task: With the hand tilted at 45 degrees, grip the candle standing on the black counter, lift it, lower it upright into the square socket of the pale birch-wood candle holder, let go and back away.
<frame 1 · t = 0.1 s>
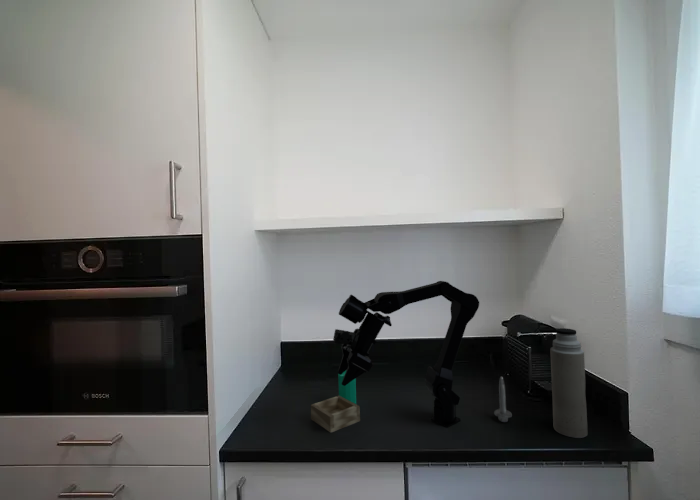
hand: (340, 379, 100), 15 cm above the worktop, tool tilted 35°, fingers open, 9 cm apart
thermos bottle: (570, 431, 96), on the worktop
screw: (503, 420, 103), on the worktop
candle holder: (335, 420, 107), on the worktop
candle: (347, 404, 118), on the worktop
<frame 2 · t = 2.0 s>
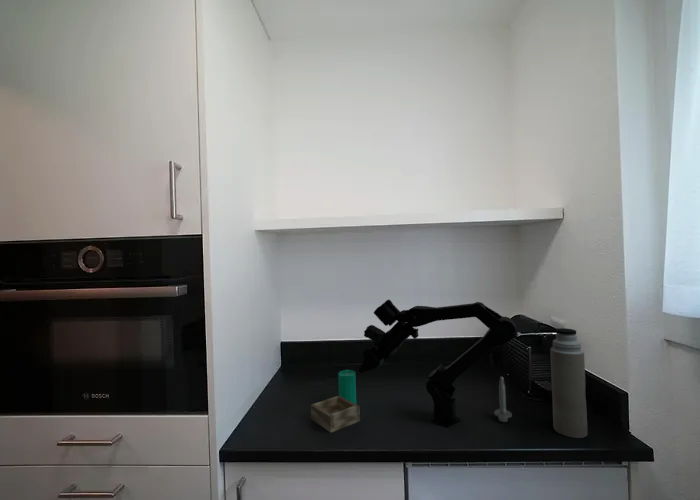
hand: (365, 367, 116), 13 cm above the worktop, tool tilted 45°, fingers open, 9 cm apart
nothing on the worktop moved.
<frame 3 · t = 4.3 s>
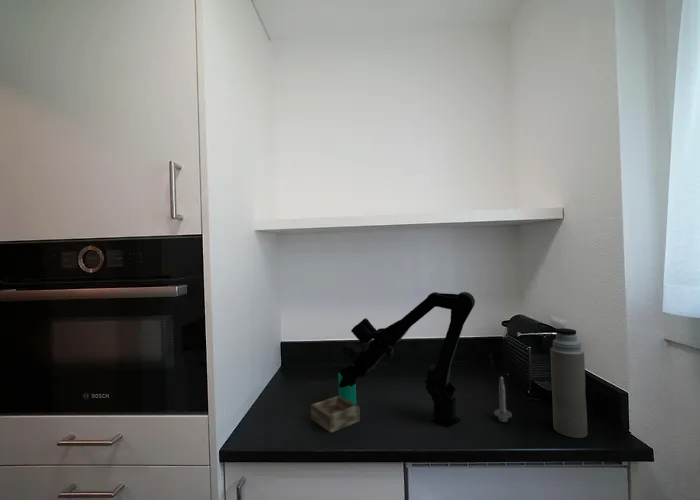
hand: (343, 383, 119), 7 cm above the worktop, tool tilted 45°, fingers closed on candle, 5 cm apart
candle: (347, 404, 118), on the worktop, touching gripper
everything else where it was.
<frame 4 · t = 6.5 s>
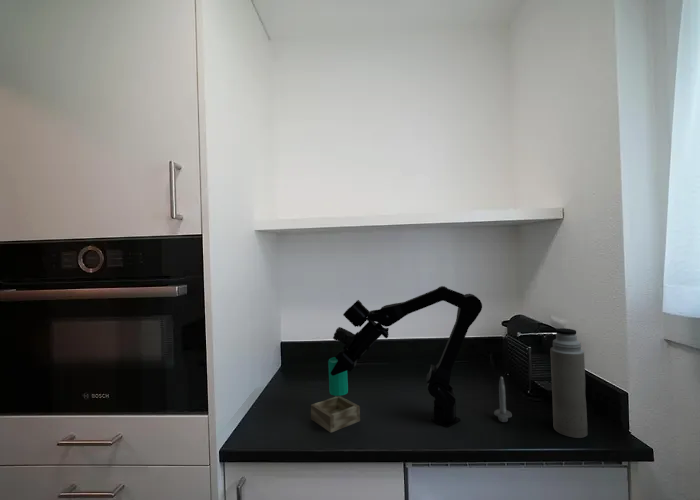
hand: (333, 371, 112), 13 cm above the worktop, tool tilted 45°, fingers closed on candle, 5 cm apart
candle: (338, 392, 111), point 6 cm above the worktop, touching gripper
everything else where it was.
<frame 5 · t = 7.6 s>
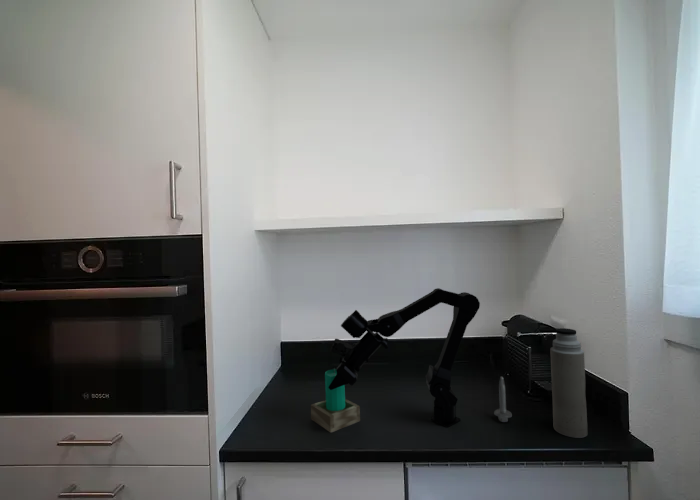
hand: (330, 385, 107), 11 cm above the worktop, tool tilted 45°, fingers closed on candle, 5 cm apart
candle: (335, 407, 107), point 4 cm above the worktop, touching gripper
everything else where it was.
when the fingers open (9 cm above the worktop, at t = 8.4 s): candle drops 1 cm, resting on candle holder.
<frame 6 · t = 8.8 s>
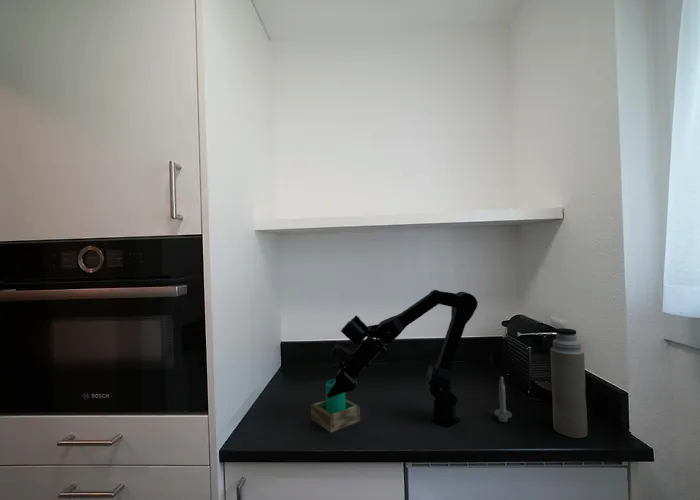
hand: (330, 390, 107), 9 cm above the worktop, tool tilted 45°, fingers open, 9 cm apart
candle: (336, 417, 107), point 1 cm above the worktop, touching candle holder
everything else where it was.
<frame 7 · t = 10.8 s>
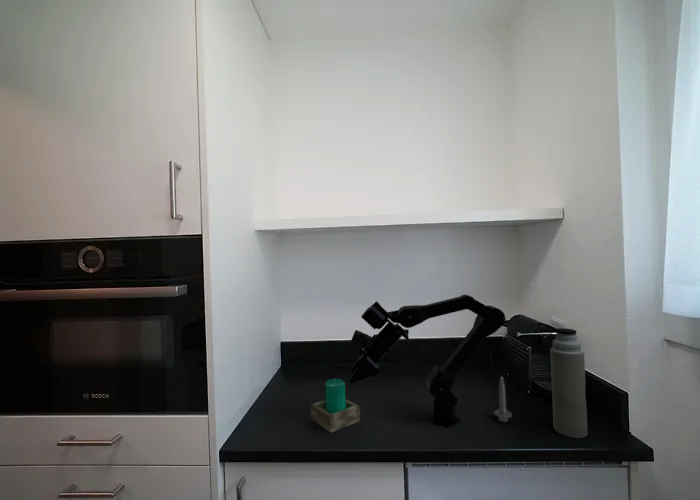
hand: (350, 376, 106), 13 cm above the worktop, tool tilted 45°, fingers open, 9 cm apart
nothing on the worktop moved.
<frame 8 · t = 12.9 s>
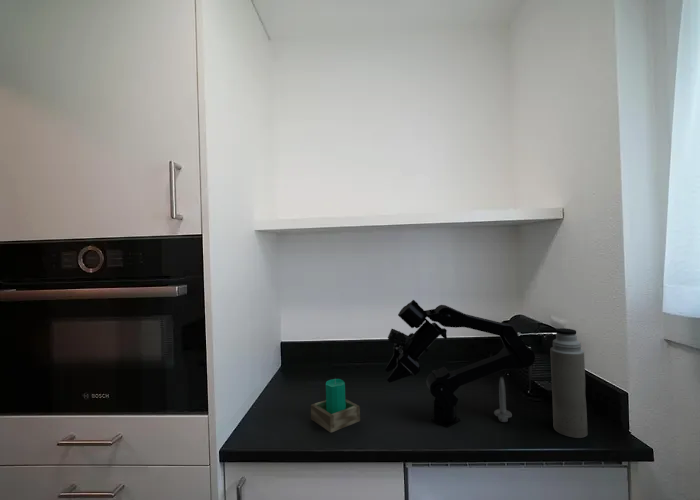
hand: (387, 375, 105), 14 cm above the worktop, tool tilted 45°, fingers open, 9 cm apart
nothing on the worktop moved.
at the end: candle 0.3 cm off-centre on the candle holder, point 0.8 cm above the candle holder's base; candle tilted 0°; the gripper is holding nothing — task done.
